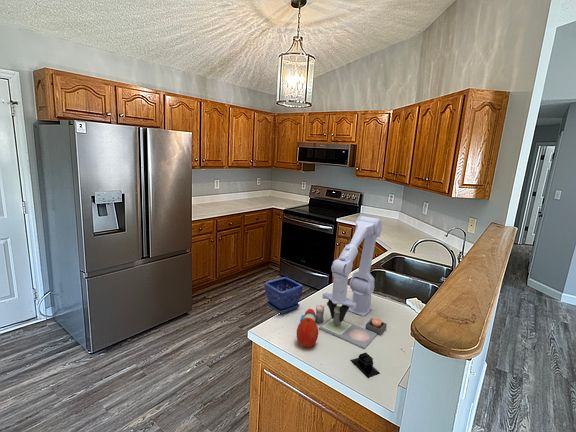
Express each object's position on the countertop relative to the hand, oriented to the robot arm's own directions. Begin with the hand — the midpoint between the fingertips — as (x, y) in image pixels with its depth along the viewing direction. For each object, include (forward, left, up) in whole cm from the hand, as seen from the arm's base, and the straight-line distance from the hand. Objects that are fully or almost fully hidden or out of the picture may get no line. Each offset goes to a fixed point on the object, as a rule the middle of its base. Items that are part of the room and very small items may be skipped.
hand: (337, 319), depth 127 cm
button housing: (-9, +13, -4) cm, 17 cm away
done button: (-10, +13, -2) cm, 16 cm away
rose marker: (+1, -8, -4) cm, 9 cm away
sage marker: (0, 0, -2) cm, 2 cm away
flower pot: (+3, -27, -4) cm, 27 cm away
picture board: (0, +5, -4) cm, 6 cm away
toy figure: (+7, -10, -4) cm, 12 cm away
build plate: (+15, +19, -4) cm, 25 cm away
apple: (+18, -3, -4) cm, 18 cm away
